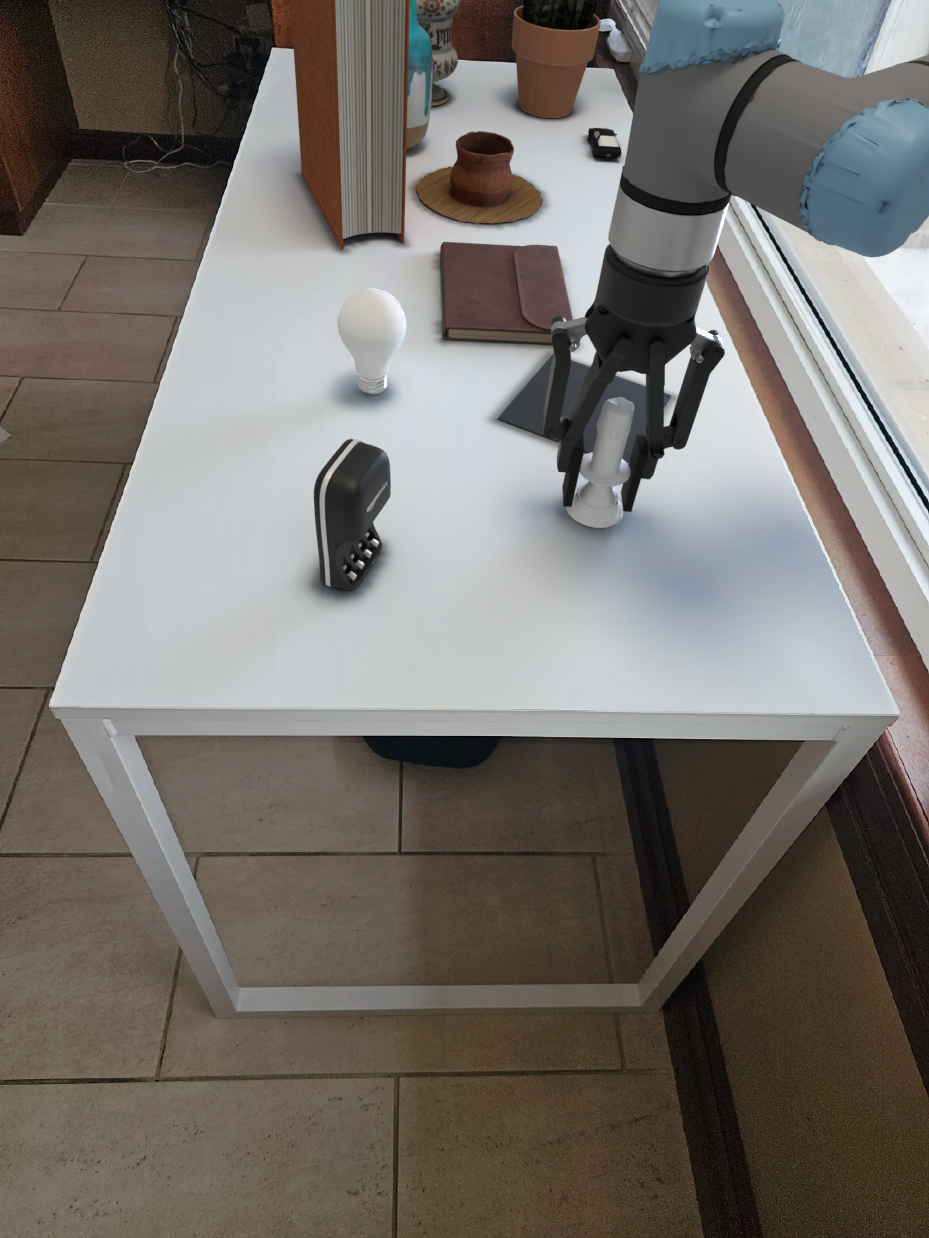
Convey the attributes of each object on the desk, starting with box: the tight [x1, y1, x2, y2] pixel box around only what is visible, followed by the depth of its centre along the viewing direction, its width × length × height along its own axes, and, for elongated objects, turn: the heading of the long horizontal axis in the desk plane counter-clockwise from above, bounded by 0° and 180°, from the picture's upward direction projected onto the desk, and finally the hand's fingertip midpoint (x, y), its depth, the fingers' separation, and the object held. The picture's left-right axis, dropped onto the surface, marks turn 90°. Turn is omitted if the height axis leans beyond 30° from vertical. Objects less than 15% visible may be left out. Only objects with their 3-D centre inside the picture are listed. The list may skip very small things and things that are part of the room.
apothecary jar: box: [416, 0, 463, 107], centre depth 137 cm, size 12×12×18 cm
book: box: [290, 0, 410, 251], centre depth 105 cm, size 23×8×30 cm, turn 20°
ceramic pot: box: [415, 130, 543, 225], centre depth 119 cm, size 18×18×7 cm
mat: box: [497, 353, 672, 464], centre depth 91 cm, size 14×14×1 cm
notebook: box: [439, 241, 574, 346], centre depth 103 cm, size 15×20×2 cm
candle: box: [565, 397, 634, 529], centre depth 75 cm, size 5×5×12 cm
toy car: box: [587, 127, 622, 158], centre depth 134 cm, size 10×4×3 cm, turn 3°
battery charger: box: [313, 438, 392, 591], centre depth 69 cm, size 7×4×11 cm, turn 158°
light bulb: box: [337, 287, 408, 395], centre depth 85 cm, size 7×7×11 cm
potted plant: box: [511, 0, 602, 120], centre depth 135 cm, size 14×14×25 cm
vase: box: [406, 0, 433, 150], centre depth 123 cm, size 11×11×19 cm
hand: (596, 498), depth 79 cm, fingers closed on candle, 5 cm apart
